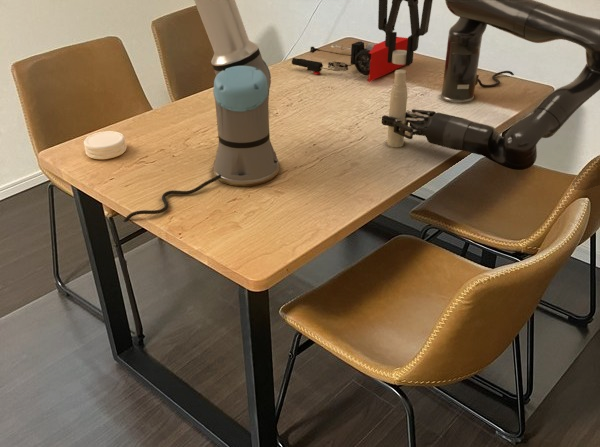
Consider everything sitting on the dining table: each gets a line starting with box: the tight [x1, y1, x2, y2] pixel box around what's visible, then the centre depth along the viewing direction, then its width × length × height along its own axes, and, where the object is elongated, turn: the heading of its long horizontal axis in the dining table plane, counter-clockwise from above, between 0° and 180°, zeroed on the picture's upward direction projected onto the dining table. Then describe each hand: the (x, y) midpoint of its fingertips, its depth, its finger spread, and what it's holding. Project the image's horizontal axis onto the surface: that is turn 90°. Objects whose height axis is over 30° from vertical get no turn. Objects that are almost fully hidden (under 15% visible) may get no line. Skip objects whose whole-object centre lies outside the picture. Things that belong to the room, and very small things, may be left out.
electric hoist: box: [291, 36, 408, 82], centre depth 206 cm, size 10×27×30 cm
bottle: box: [386, 69, 408, 148], centre depth 152 cm, size 4×4×19 cm
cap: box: [392, 50, 407, 66], centre depth 145 cm, size 4×4×2 cm
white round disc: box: [83, 130, 128, 160], centre depth 155 cm, size 10×10×4 cm
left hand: (399, 62), depth 146 cm, fingers closed on cap, 4 cm apart
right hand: (387, 116), depth 155 cm, fingers closed on bottle, 4 cm apart
